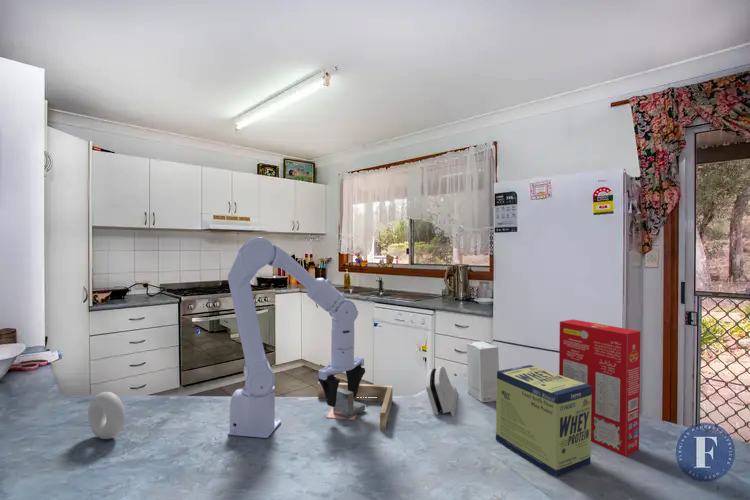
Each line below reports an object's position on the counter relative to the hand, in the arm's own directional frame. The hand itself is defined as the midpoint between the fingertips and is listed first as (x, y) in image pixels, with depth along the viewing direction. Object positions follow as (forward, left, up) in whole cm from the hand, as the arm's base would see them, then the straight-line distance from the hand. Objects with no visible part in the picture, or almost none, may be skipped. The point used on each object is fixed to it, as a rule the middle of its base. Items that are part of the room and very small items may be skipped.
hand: (342, 400), depth 95 cm
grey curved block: (+25, +12, -4) cm, 28 cm away
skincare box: (+37, +18, -4) cm, 41 cm away
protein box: (+45, -10, -4) cm, 46 cm away
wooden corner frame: (+1, +2, -4) cm, 4 cm away
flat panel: (0, +2, -4) cm, 4 cm away
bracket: (+1, +2, -3) cm, 4 cm away
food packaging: (+59, -2, -4) cm, 59 cm away
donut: (-48, -19, -4) cm, 52 cm away
